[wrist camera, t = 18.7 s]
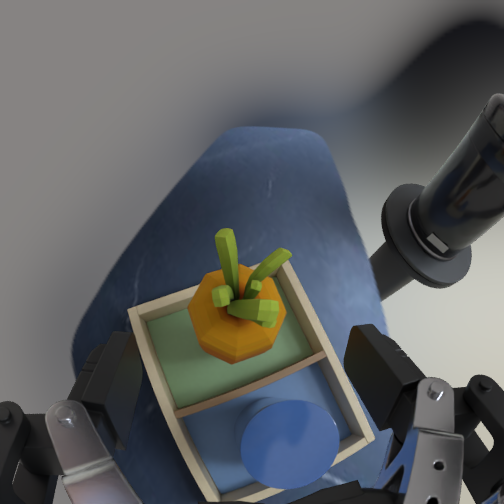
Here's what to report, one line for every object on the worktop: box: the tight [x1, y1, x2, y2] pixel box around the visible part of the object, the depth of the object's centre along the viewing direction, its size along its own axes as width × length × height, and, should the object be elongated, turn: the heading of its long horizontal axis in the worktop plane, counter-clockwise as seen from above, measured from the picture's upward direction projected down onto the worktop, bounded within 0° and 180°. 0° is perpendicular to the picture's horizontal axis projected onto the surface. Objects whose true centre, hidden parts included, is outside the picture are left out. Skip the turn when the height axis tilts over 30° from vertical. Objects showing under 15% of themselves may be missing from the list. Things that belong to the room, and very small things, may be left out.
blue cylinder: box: [234, 397, 339, 489], centre depth 17 cm, size 6×6×7 cm
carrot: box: [187, 228, 292, 365], centre depth 16 cm, size 5×5×15 cm
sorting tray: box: [128, 260, 375, 503], centre depth 21 cm, size 14×18×3 cm
